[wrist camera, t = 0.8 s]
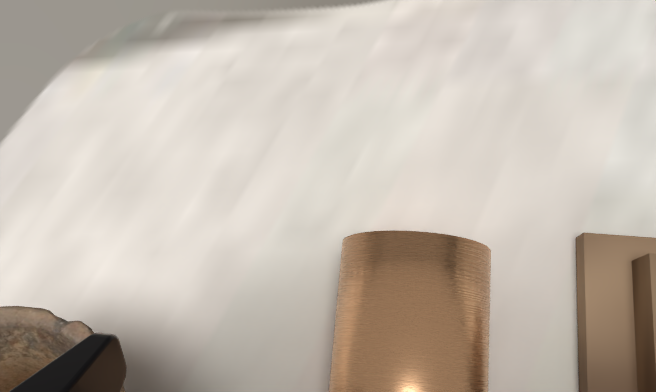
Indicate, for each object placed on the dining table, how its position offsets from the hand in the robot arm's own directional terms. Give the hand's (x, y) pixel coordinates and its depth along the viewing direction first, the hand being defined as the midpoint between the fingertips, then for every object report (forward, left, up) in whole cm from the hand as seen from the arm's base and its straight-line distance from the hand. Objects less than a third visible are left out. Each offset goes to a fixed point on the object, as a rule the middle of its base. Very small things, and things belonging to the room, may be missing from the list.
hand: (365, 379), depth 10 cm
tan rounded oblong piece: (-1, -1, -15) cm, 15 cm away
